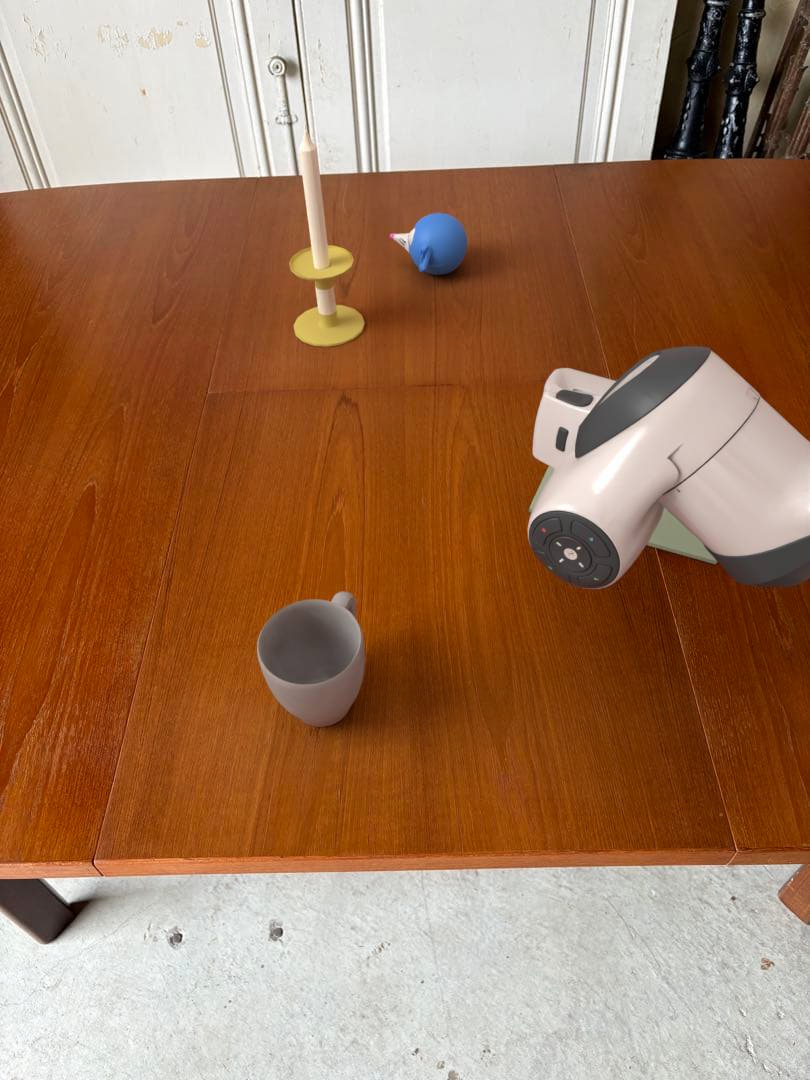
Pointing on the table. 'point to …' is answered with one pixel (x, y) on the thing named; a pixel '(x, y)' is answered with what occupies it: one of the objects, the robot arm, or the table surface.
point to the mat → (662, 533)
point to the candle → (322, 267)
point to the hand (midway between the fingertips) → (671, 389)
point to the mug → (314, 658)
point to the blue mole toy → (435, 243)
